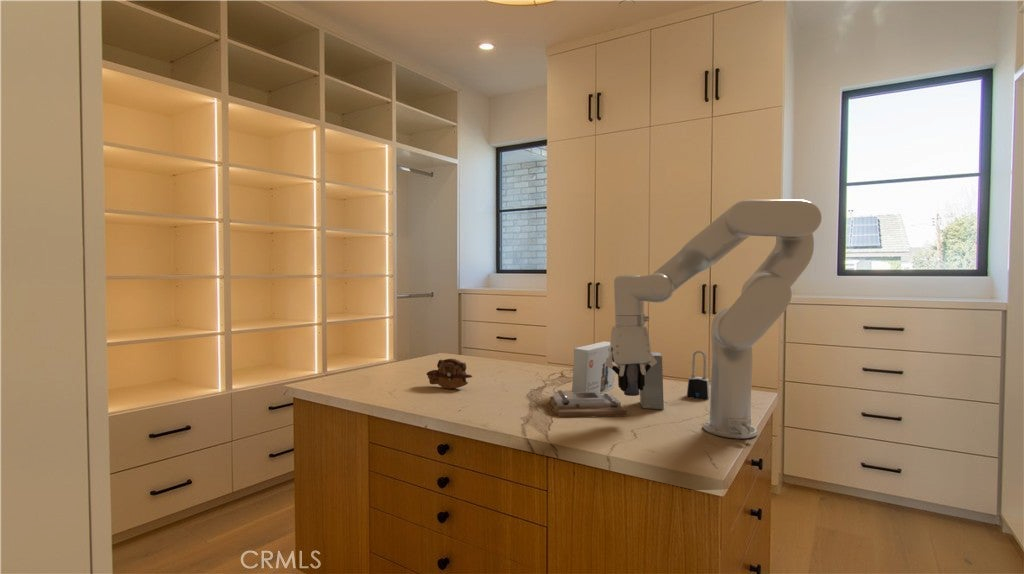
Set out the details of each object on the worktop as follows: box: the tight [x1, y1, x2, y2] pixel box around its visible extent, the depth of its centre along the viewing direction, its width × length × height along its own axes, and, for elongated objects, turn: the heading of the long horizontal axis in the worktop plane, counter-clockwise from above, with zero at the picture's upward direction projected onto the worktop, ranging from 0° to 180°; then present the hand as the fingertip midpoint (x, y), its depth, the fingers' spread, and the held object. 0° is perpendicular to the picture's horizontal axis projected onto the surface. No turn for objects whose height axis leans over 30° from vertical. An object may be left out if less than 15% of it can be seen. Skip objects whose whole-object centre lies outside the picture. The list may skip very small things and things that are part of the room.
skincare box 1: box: [571, 340, 617, 395], centre depth 167 cm, size 21×5×16 cm, turn 143°
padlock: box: [686, 350, 711, 400], centre depth 163 cm, size 7×4×15 cm, turn 62°
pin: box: [623, 363, 640, 397], centre depth 136 cm, size 4×4×9 cm
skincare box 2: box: [639, 351, 665, 410], centre depth 152 cm, size 8×7×16 cm
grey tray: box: [553, 389, 622, 408], centre depth 149 cm, size 9×18×3 cm, turn 95°
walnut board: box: [549, 396, 627, 418], centre depth 149 cm, size 16×19×2 cm
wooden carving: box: [426, 358, 473, 389], centre depth 171 cm, size 16×5×10 cm, turn 73°
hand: (631, 389), depth 136 cm, fingers closed on pin, 4 cm apart
